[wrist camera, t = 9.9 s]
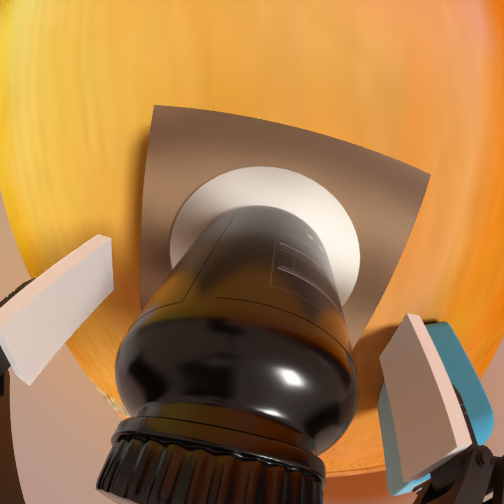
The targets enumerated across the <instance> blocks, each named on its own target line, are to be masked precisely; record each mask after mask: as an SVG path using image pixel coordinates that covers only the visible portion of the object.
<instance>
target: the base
mask: <svg viewBox="0 0 504 504" xmlns="http://www.w3.org/2000/svg"><path fill="white" fill-rule="evenodd" d="M430 176H431V174H428V173H426V172H424V171H422V170H420V169H417V168H415V167H413V166H410V165H408V164H406V163H403V162H401V161H398V160H396V159H393V158H391V157H388V156H385V155H383V154H380V153H378V152H375V151H372V150H369V149H366V148H364V147H361V146H358V145H355V144H352V143H349V142H346V141H343V140H339V139H336V138H333V137H329V136H326V135H323V134H319V133H316V132H312V131H308V130H304V129H301V128H297V127H293V126H289V125H284V124H280V123H276V122H271V121H266V120H262V119H257V118H252V117H246V116H241V115H235V114H229V113H223V112H216V111H209V110H201V109H193V108H183V107H173V106H160V105H154V110H153V116H152V122H151V128H150V135H149V142H148V150H147V158H146V167H145V176H144V187H143V200H142V217H141V242H140V290H141V311H142V310H143V309H144V307H145V306H146V304H147V303H148V302H149V300H150V299H151V298H152V296H153V295H154V294H155V292H156V291H157V289H158V288H159V287H160V285H161V284H162V283H163V281H164V280H165V279H166V277H167V276H168V275H169V274H170V272H171V271H172V270H173V268H174V267H175V266H176V264H177V263H178V262H179V261H180V259H181V258H182V257H183V255H184V254H185V253H186V252H187V250H188V249H189V248H190V246H191V245H192V244H193V243H194V241H195V240H196V239H197V238H198V236H199V235H200V234H201V233H202V232H203V231H204V230H205V228H206V227H207V226H208V225H209V224H210V223H212V222H213V221H214V220H215V219H216V218H218V217H219V216H221V215H223V214H224V213H226V212H228V211H231V210H233V209H237V208H240V207H245V206H253V205H263V206H271V207H276V208H280V209H283V210H285V211H288V212H290V213H292V214H294V215H296V216H298V217H299V218H301V219H302V220H303V221H305V222H306V223H307V224H308V225H309V226H310V227H311V228H312V229H313V230H314V231H315V232H316V234H317V235H318V237H319V238H320V240H321V242H322V243H323V246H324V248H325V250H326V253H327V256H328V259H329V262H330V265H331V269H332V272H333V276H334V279H335V283H336V287H337V290H338V294H339V298H340V302H341V306H342V310H343V314H344V318H345V322H346V326H347V330H348V335H349V339H350V343H351V348H352V350H353V348H354V346H355V345H356V343H357V341H358V340H359V338H360V336H361V335H362V333H363V331H364V329H365V327H366V326H367V324H368V322H369V320H370V318H371V317H372V315H373V313H374V311H375V309H376V307H377V305H378V303H379V301H380V300H381V298H382V296H383V294H384V292H385V290H386V287H387V285H388V283H389V281H390V279H391V277H392V275H393V273H394V271H395V268H396V266H397V264H398V262H399V259H400V257H401V255H402V253H403V250H404V248H405V245H406V243H407V241H408V238H409V236H410V233H411V231H412V228H413V225H414V223H415V220H416V217H417V215H418V212H419V209H420V206H421V203H422V201H423V198H424V195H425V192H426V189H427V185H428V182H429V179H430Z"/></svg>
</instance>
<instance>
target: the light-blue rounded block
mask: <svg viewBox="0 0 504 504" xmlns="http://www.w3.org/2000/svg"><path fill="white" fill-rule="evenodd" d="M425 327H426V329H427V331H428V333H429V335H430V337H431V339H432V341H433V343H434V346H435V348H436V350H437V352H438V354H439V356H440V359H441V361H442V363H443V365H444V368H445V370H446V372H447V374H448V377H449V379H450V382H451V384H453V385H454V386H455V387H456V389H457V390H458V391H459V393H460V395H461V397H462V400H463V402H464V406H465V408H466V411H467V414H468V416H469V419H470V422H471V425H472V428H473V431H474V434H475V437H476V441H477V443H478V446H479V445H483V444H484V443H485V442H486V441H487V440H488V438H489V437H490V435H491V433H492V430H493V426H494V415H493V410H492V407H491V405H490V403H489V400H488V398H487V396H486V393H485V391H484V389H483V387H482V384H481V382H480V380H479V378H478V376H477V374H476V372H475V370H474V368H473V366H472V364H471V362H470V360H469V358H468V356H467V354H466V353H465V351H464V349H463V347H462V345H461V343H460V342H459V340H458V338H457V336H456V335H455V333H454V331H453V329H452V328H451V326H450V325H449V324H448V323H447V322H438V323H432V324H426V325H425ZM378 414H379V420H380V427H381V434H382V441H383V448H384V456H385V465H386V475H387V486H388V491H389V493H390V494H391V495H392V496H396V495H400V494H404V493H408V492H411V491H412V490H413V488H414V487H416V486H417V485H419V484H421V483H423V482H425V481H427V480H428V479H430V478H431V476H430V473H429V474H427V475H426V476H424V477H422V478H421V479H419V480H414V481H408V482H403V478H402V470H401V462H400V455H399V449H398V443H397V437H396V431H395V426H394V420H393V415H392V410H391V406H390V401H389V396H388V392H387V388H386V383H385V380H384V383H383V386H382V389H381V392H380V395H379V399H378ZM420 489H422V488H420ZM418 490H419V489H418Z"/></svg>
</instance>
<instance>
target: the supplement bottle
mask: <svg viewBox="0 0 504 504" xmlns="http://www.w3.org/2000/svg"><path fill="white" fill-rule="evenodd" d="M115 379H116V385H117V390H118V393H119V396H120V398H121V401H122V403H123V405H124V407H125V409H126V410H127V412H128V413H129V415H130V416H131V418H127V419H125V420H123V421H121V422H120V424H119V425H118V427H117V429H116V430H115V432H114V434H113V436H112V438H111V443H112V446H113V447H112V449H111V451H110V453H109V455H108V457H107V459H106V462H105V464H104V466H103V468H102V470H101V472H100V475H99V477H98V480H97V483H96V490H98V491H99V492H100V493H101V494H103V495H104V496H106V497H107V498H109V499H111V500H112V501H114V502H116V503H118V504H323V488H324V487H325V485H326V467H325V464H324V462H323V461H322V460H321V459H320V458H319V457H317V456H319V455H320V454H322V453H324V452H325V451H327V450H328V449H329V448H331V447H332V446H333V445H334V444H335V443H336V442H337V441H338V440H339V439H340V438H341V437H342V436H343V434H344V433H345V432H346V430H347V429H348V427H349V425H350V423H351V421H352V419H353V417H354V415H355V412H356V409H357V405H358V398H359V390H358V380H357V372H356V367H355V362H354V357H353V352H352V348H351V343H350V339H349V335H348V330H347V326H346V322H345V318H344V314H343V310H342V306H341V302H340V298H339V294H338V290H337V287H336V283H335V279H334V276H333V272H332V269H331V265H330V262H329V259H328V256H327V253H326V250H325V248H324V246H323V243H322V242H321V240H320V238H319V237H318V235H317V234H316V232H315V231H314V230H313V229H312V228H311V227H310V226H309V225H308V224H307V223H306V222H305V221H303V220H302V219H301V218H299V217H298V216H296V215H294V214H292V213H290V212H288V211H285V210H283V209H280V208H276V207H271V206H263V205H253V206H245V207H240V208H237V209H233V210H231V211H228V212H226V213H224V214H223V215H221V216H219V217H218V218H216V219H215V220H214V221H213V222H212V223H210V224H209V225H208V226H207V227H206V228H205V230H204V231H203V232H202V233H201V234H200V235H199V236H198V238H197V239H196V240H195V241H194V243H193V244H192V245H191V246H190V248H189V249H188V250H187V252H186V253H185V254H184V255H183V257H182V258H181V259H180V261H179V262H178V263H177V264H176V266H175V267H174V268H173V270H172V271H171V272H170V274H169V275H168V276H167V277H166V279H165V280H164V281H163V283H162V284H161V285H160V287H159V288H158V289H157V291H156V292H155V294H154V295H153V296H152V298H151V299H150V300H149V302H148V303H147V304H146V306H145V307H144V309H143V310H142V311H141V313H140V314H139V315H138V317H137V318H136V320H135V321H134V322H133V324H132V325H131V327H130V328H129V330H128V332H127V333H126V335H125V337H124V339H123V340H122V342H121V344H120V346H119V349H118V352H117V356H116V362H115Z"/></svg>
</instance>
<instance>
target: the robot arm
mask: <svg viewBox="0 0 504 504" xmlns="http://www.w3.org/2000/svg"><path fill="white" fill-rule="evenodd" d="M113 290H114V282H113V268H112V247H111V238H110V237H106V236H103V235H100V234H97V235H96V236H94V237H93V238H91V239H90V240H88V241H87V242H85V243H84V244H83V245H81V246H80V247H78V248H77V249H75V250H74V251H72V252H71V253H70V254H68V255H67V256H65V257H64V258H63V259H61V260H60V261H58V262H57V263H56V264H54V265H53V266H52V267H50V268H49V269H48V270H46V271H45V272H44V273H42V274H41V275H40V276H38V277H37V278H34V279H31V280H29V281H27V282H25V283H23V284H22V285H20V286H19V287H18V288H17V289H16V290H15V292H14V291H13V292H12V293H11V294H9V296H8V297H6V298H5V299H3V300H2V301H1V302H0V504H25V501H24V498H23V494H22V490H21V486H20V482H19V477H18V473H17V468H16V462H15V456H14V449H13V442H12V434H11V420H10V396H9V395H10V392H9V391H10V387H9V386H10V375H9V371H8V368H9V367H10V366H11V367H12V368H13V370H14V372H15V373H16V375H17V376H18V377H19V378H20V379H22V380H23V381H24V382H25V383H27V384H28V385H29V386H30V385H31V384H32V382H33V381H34V380H35V379H36V377H37V376H38V375H39V374H40V372H41V371H42V370H43V368H44V367H45V366H46V365H47V364H48V362H49V361H50V360H51V359H52V358H53V356H54V355H55V354H56V353H57V352H58V351H59V349H60V348H61V347H62V346H63V345H64V344H65V342H66V341H67V340H68V339H69V338H70V337H71V336H72V334H73V333H74V332H75V331H76V330H77V329H78V328H79V327H80V325H81V324H82V323H83V322H84V321H85V320H86V319H87V318H88V317H89V316H90V314H91V313H92V312H93V311H94V310H95V309H96V308H97V307H98V306H99V305H100V304H101V303H102V302H103V301H104V300H105V298H106V297H107V296H108V295H109V294H110V293H111V292H112V291H113ZM379 359H380V363H381V367H382V371H383V375H384V379H385V383H386V388H387V392H388V396H389V401H390V406H391V410H392V415H393V420H394V426H395V431H396V437H397V443H398V449H399V455H400V462H401V470H402V478H403V482H408V481H414V480H419V479H421V478H422V477H424V476H426V475H427V474H429V473H430V476H431V478H430V479H428V480H427V481H425V482H423V483H421V484H419V485H417V486H416V487H414V488H413V490H412V491H413V492H414V491H416V490H418V489H420V488H422V489H421V490H420V491H418V492H417V493H416V494H418V496H417V498H416V500H415V502H414V503H413V504H504V455H503V456H502V457H496V456H493V454H492V452H491V451H490V449H489V448H488V447H486V446H484V445H479V446H478V443H477V441H476V437H475V434H474V431H473V428H472V425H471V422H470V419H469V416H468V414H467V411H466V408H465V406H464V402H463V400H462V397H461V395H460V393H459V391H458V390H457V389H456V387H455V386H454V385H453V384H451V382H450V379H449V377H448V374H447V372H446V370H445V368H444V365H443V363H442V361H441V359H440V356H439V354H438V352H437V350H436V348H435V346H434V343H433V341H432V339H431V337H430V335H429V333H428V331H427V329H426V327H425V325H424V323H423V321H422V320H421V318H420V316H418V315H413V314H408V313H406V315H405V317H404V319H403V320H402V322H401V324H400V325H399V327H398V329H397V330H396V332H395V333H394V335H393V337H392V338H391V340H390V341H389V343H388V344H387V346H386V347H385V349H384V350H383V352H382V353H381V355H380V356H379ZM493 491H494V492H493ZM491 492H493V498H491V499H489V500H487V501H485V502H483V499H484V497H485V496H486V495H488V494H490V493H491Z"/></svg>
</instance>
